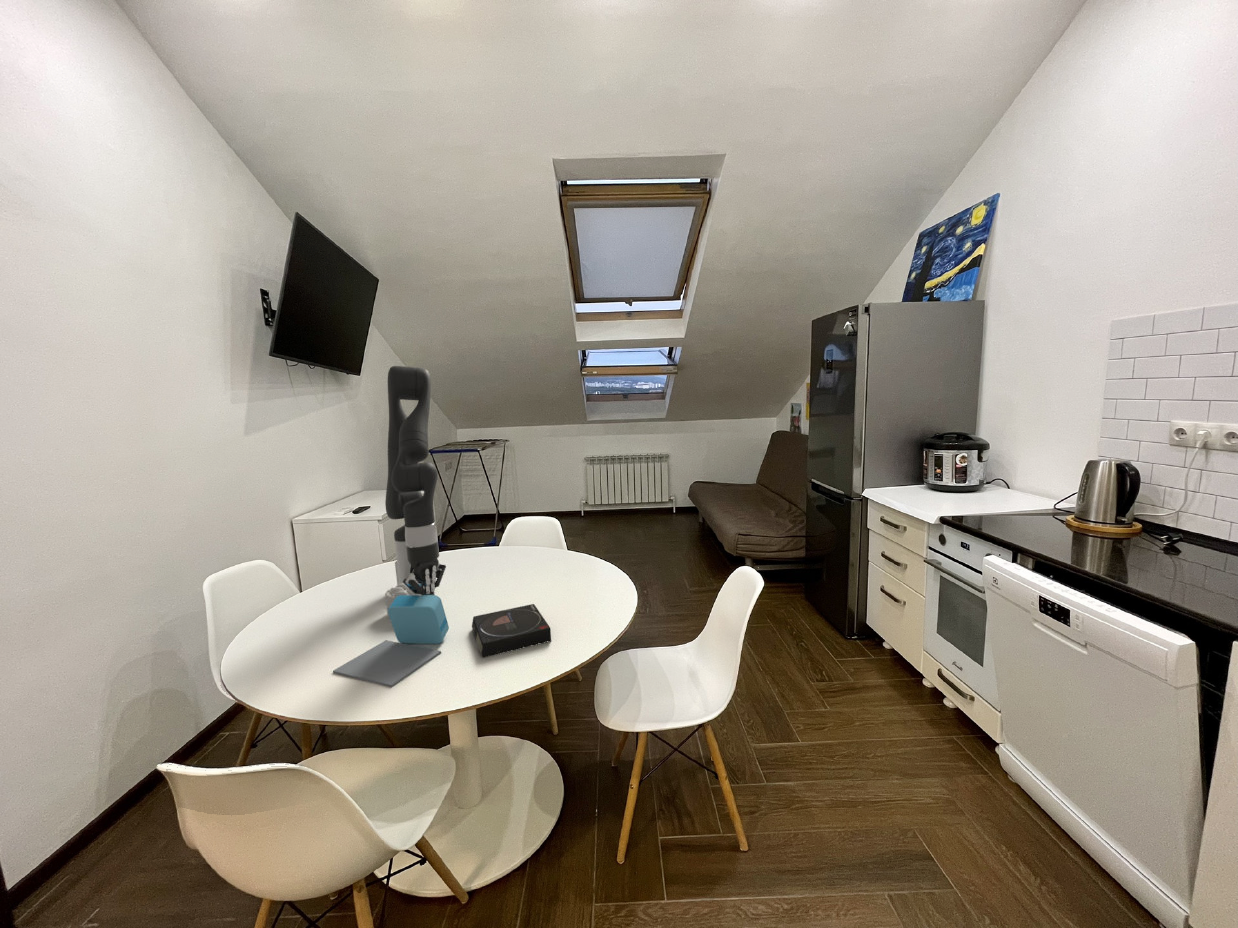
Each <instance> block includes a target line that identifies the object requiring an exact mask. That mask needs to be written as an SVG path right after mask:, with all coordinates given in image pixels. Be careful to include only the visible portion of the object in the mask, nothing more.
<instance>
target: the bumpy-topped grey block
mask: <svg viewBox="0 0 1238 928" xmlns="http://www.w3.org/2000/svg"><path fill="white" fill-rule="evenodd" d="M435 594H436V593H435V591H434V595H435ZM400 595H421V594H414V593H413V592H412V591H411V590H410V589H409V588H408V587H407V586H406V585H405V584H404V583H402V584H399V585H397V584H396V586H395V587H391V588H389V589H387V590H386V592H385V593H384V597H385V605H386V613H387V619H388V620H389V621H391V620H390V617H389V614H388V608H389V607H390V605H391V604H392V603H393V601H394V600H395V598H396V597H397V596H400Z"/></svg>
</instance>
